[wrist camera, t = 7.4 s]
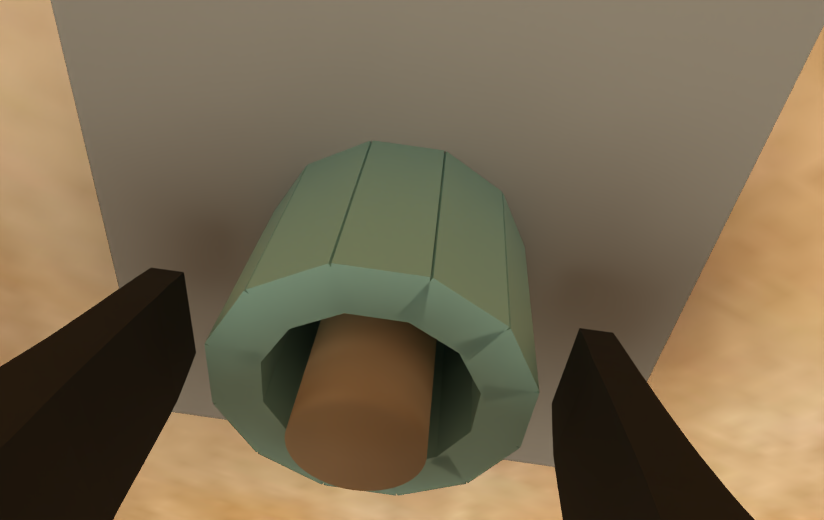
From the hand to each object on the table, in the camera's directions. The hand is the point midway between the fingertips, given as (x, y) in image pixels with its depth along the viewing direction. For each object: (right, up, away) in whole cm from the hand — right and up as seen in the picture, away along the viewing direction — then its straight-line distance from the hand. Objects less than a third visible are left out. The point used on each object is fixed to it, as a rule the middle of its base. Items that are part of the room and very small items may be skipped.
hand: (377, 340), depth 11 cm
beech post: (0, +2, +2) cm, 3 cm away
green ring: (0, +2, +2) cm, 3 cm away
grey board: (0, +2, +3) cm, 4 cm away
